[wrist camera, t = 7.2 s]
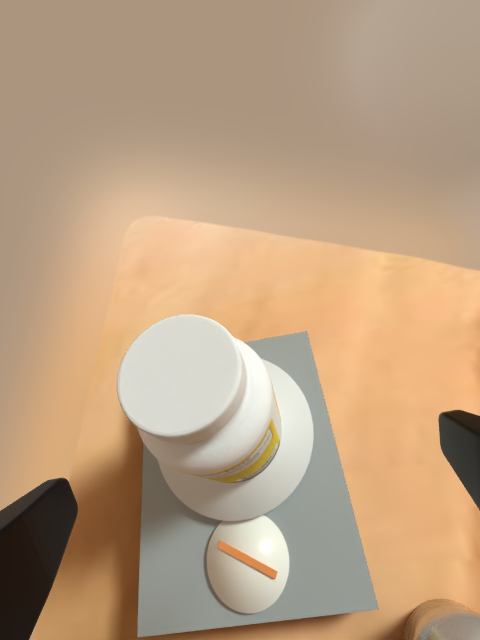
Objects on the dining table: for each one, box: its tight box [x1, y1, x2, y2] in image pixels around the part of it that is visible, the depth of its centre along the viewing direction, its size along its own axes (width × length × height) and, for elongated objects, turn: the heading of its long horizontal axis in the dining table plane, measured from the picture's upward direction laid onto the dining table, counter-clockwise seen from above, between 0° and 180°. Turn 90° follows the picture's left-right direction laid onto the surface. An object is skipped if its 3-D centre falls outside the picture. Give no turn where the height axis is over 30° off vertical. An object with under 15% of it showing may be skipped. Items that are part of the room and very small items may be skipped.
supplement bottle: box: [117, 315, 282, 483], centre depth 14 cm, size 5×5×10 cm
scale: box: [137, 331, 379, 638], centre depth 19 cm, size 14×11×3 cm
